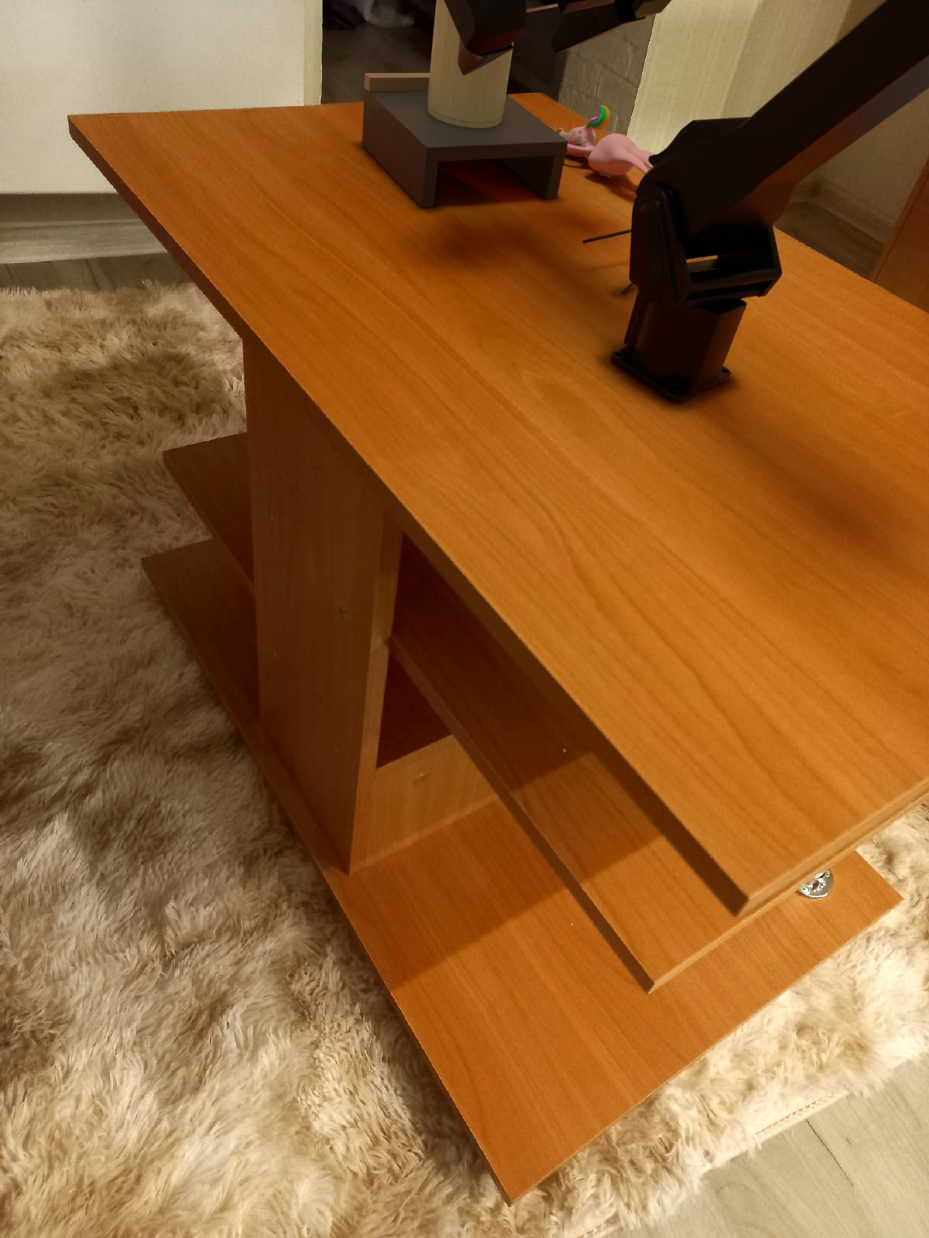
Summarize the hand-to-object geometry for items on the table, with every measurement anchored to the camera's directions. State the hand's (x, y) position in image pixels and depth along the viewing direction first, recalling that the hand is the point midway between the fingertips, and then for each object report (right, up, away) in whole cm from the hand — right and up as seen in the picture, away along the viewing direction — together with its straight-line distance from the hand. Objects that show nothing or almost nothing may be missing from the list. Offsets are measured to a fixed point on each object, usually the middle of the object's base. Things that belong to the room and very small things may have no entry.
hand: (508, 58), depth 69 cm
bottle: (-3, +1, +10) cm, 11 cm away
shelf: (-4, -2, +14) cm, 15 cm away
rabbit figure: (+10, 0, +19) cm, 21 cm away
